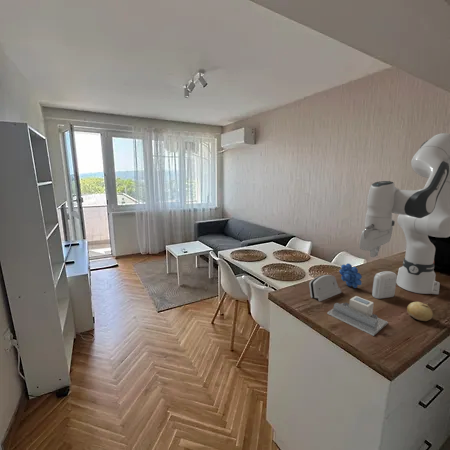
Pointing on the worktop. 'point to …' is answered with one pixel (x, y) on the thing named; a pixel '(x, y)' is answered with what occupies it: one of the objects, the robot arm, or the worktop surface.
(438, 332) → the worktop surface
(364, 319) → the rail base
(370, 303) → the block
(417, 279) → the robot arm
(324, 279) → the white toaster
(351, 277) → the grapes
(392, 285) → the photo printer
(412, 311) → the onion
